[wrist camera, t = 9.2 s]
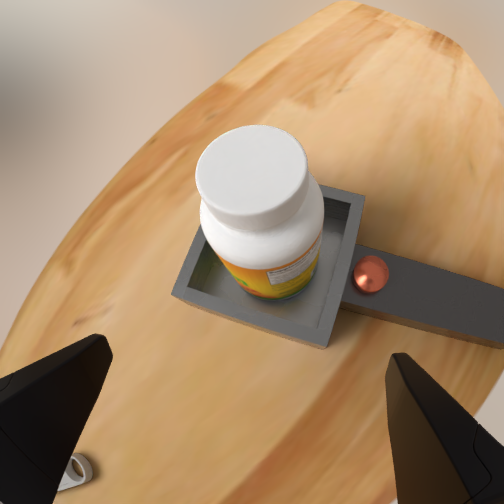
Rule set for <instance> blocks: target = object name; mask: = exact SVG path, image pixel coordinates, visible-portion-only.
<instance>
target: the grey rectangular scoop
mask: <svg viewBox="0 0 504 504" xmlns="http://www.w3.org/2000/svg"><path fill="white" fill-rule="evenodd" d="M318 185H319V184H318ZM319 187H320V190H321V192H322V196H323V200H324V221H323V229H322V237H321V245H320V252H319V260H318V265H317V269H316V272H315V274H314V277H313V278H312V280H311V282H310V283H309V284H308V285H307V287H306V288H305V289H304V290H302V291H301V292H300V293H298V294H297V295H295V296H293V297H290V298H288V299H284V300H279V301H267V300H262V299H259V298H256V297H254V296H252V295H250V294H249V293H247V292H246V291H245V290H244V289H243V288H242V287H241V286H240V285H239V284H238V283H237V281H236V280H235V279H234V277H233V276H232V275H231V273H230V272H229V271H228V269H227V268H226V267H225V265H224V264H223V262H222V261H221V259H220V258H219V257H218V255H217V254H216V253H215V251H214V250H213V248H212V247H211V246H210V244H209V242H208V241H207V239H206V237H205V235H204V232H203V230H202V226H201V224H200V226H199V229H198V231H197V233H196V235H195V238H194V240H193V242H192V245H191V247H190V249H189V252H188V254H187V256H186V259H185V261H184V264H183V266H182V268H181V271H180V273H179V276H178V278H177V280H176V283H175V285H174V288H173V290H172V293H171V295H172V296H174V297H176V298H178V299H179V300H181V301H183V302H185V303H186V304H188V305H190V306H193V307H196V308H198V309H201V310H204V311H206V312H209V313H212V314H215V315H217V316H220V317H223V318H226V319H229V320H232V321H234V322H237V323H240V324H243V325H246V326H249V327H252V328H255V329H258V330H261V331H264V332H267V333H270V334H273V335H276V336H279V337H283V338H286V339H289V340H292V341H295V342H299V343H302V344H305V345H309V346H312V347H315V348H319V349H322V350H323V349H325V348H326V347H327V344H328V341H329V338H330V335H331V332H332V328H333V325H334V322H335V318H336V315H337V312H338V308H342V309H345V310H349V311H352V312H356V313H360V314H363V315H367V316H371V317H374V318H378V319H382V320H385V321H389V322H393V323H396V324H400V325H404V326H408V327H412V328H415V329H419V330H423V331H427V332H431V333H435V334H439V335H443V336H447V337H451V338H455V339H459V340H463V341H467V342H471V343H475V344H480V345H484V346H488V347H492V348H497V349H504V289H503V288H500V287H497V286H494V285H491V284H487V283H484V282H481V281H478V280H475V279H472V278H469V277H466V276H463V275H459V274H456V273H453V272H450V271H447V270H443V269H440V268H437V267H434V266H430V265H427V264H424V263H420V262H417V261H414V260H410V259H407V258H403V257H400V256H396V255H393V254H390V253H386V252H383V251H379V250H376V249H372V248H368V247H365V246H361V245H358V244H355V243H356V238H357V234H358V229H359V225H360V220H361V215H362V211H363V206H364V201H365V196H363V195H359V194H355V193H351V192H347V191H343V190H339V189H335V188H331V187H327V186H323V185H319Z"/></svg>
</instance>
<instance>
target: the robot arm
mask: <svg viewBox="0 0 504 504" xmlns="http://www.w3.org/2000/svg"><path fill="white" fill-rule="evenodd" d="M112 359H113V354H112V351H111V348H110V346H109V343H108V341H107V339H106V337H105V336H104V335H101V334H92V335H90V336H88V337H86V338H84V339H82V340H79V341H77V342H75V343H73V344H71V345H69V346H67V347H65V348H63V349H61V350H59V351H57V352H55V353H53V354H51V355H49V356H47V357H44V358H42V359H40V360H38V361H36V362H34V363H32V364H30V365H28V366H26V367H24V368H22V369H20V370H18V371H16V372H15V373H11V374H9V375H7V376H5V377H3V378H1V379H0V504H53V501H54V498H55V496H56V493H57V491H58V488H59V485H60V482H61V480H62V477H63V475H64V473H65V470H66V468H67V465H68V463H69V460H70V458H71V456H72V453H73V451H74V449H75V447H76V444H77V442H78V440H79V437H80V435H81V433H82V431H83V429H84V426H85V424H86V422H87V420H88V418H89V416H90V413H91V411H92V409H93V407H94V405H95V403H96V401H97V399H98V396H99V394H100V392H101V389H102V386H103V383H104V381H105V378H106V375H107V373H108V370H109V367H110V365H111V362H112ZM385 384H386V398H387V417H388V429H389V436H390V442H391V449H392V456H393V463H394V471H395V480H396V489H397V500H398V504H504V446H502V445H501V444H500V443H499V442H498V441H497V440H496V439H495V438H494V437H493V436H492V435H491V434H489V433H488V432H487V431H486V430H485V429H484V428H483V427H482V426H481V425H480V424H478V422H477V421H476V420H475V419H474V418H473V417H472V416H471V415H470V414H469V413H468V412H467V411H466V410H465V409H464V408H463V407H462V406H461V405H460V404H459V403H458V402H457V401H456V400H455V399H454V398H453V397H452V396H451V395H450V394H449V393H448V392H447V391H446V390H445V389H444V388H442V387H441V386H440V385H439V384H438V383H437V382H436V381H435V380H434V379H433V378H432V377H431V376H430V375H429V374H428V373H427V372H426V371H425V370H424V369H423V368H422V367H420V366H419V365H418V364H417V363H416V362H415V361H414V360H413V359H412V358H411V357H410V356H409V355H408V354H406V353H394V354H392V355H391V357H390V361H389V364H388V368H387V371H386V376H385Z"/></svg>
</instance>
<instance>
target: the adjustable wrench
mask: <svg viewBox="0 0 504 504" xmlns="http://www.w3.org/2000/svg"><path fill="white" fill-rule="evenodd" d="M73 459H75V460H76V461H77V462H78V463H79V465H80V466H81V468H82V470H83V474H84V476H83V477H81V476H79V475H78V474H77V473H76V472H75V470H74V468H73V465H72V461H73ZM92 477H93V471H92V467H91V465H90V463H89V462H88V460H87V459H86V458H85V457H84V456H82V455H81V454H78V453H74V454H72V456H71V458H70V460H69V463H68V465H67V468H66V470H65V473H64V475H63V477H62V480H61V482H60V485H59V488H58V491H60V490H64V489H67V488H70V487H73V486H76V485H79V484H82V483H85V482H88V481H90V480H91V479H92Z"/></svg>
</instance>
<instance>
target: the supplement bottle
mask: <svg viewBox="0 0 504 504" xmlns="http://www.w3.org/2000/svg"><path fill="white" fill-rule="evenodd" d="M195 176H196V184H197V188H198V191H199V193H200V195H201V197H202V200H201V206H200V221H201V226H202V230H203V232H204V235H205V237H206V239H207V241H208V242H209V244H210V246H211V247H212V248H213V250H214V251H215V253H216V254H217V255H218V257H219V258H220V259H221V261H222V262H223V264H224V265H225V267H226V268H227V269H228V271H229V272H230V273H231V275H232V276H233V277H234V279H235V280H236V281H237V283H238V284H239V285H240V286H241V287H242V288H243V289H244V290H245V291H246V292H247V293H249V294H250V295H252V296H254V297H256V298H259V299H262V300H267V301H279V300H284V299H288V298H290V297H293V296H295V295H297V294H298V293H300V292H301V291H302V290H304V289H305V288H306V287H307V285H308V284H309V283H310V282H311V280H312V278H313V277H314V274H315V272H316V269H317V265H318V260H319V252H320V245H321V237H322V229H323V221H324V200H323V196H322V192H321V190H320V187H319V185H318V183H317V181H316V180H315V178H314V177H313V176H312V174H311V173H310V172H309V171H308V160H307V156H306V153H305V151H304V149H303V147H302V146H301V144H300V143H299V142H298V141H297V139H296V138H294V137H293V136H292V135H291V134H289V133H288V132H286V131H284V130H281V129H279V128H276V127H272V126H267V125H249V126H243V127H239V128H236V129H233V130H230V131H228V132H226V133H224V134H222V135H221V136H219V137H218V138H216V139H215V140H214V141H213V142H211V143H210V144H209V145H208V147H207V148H206V149H205V150H204V152H203V153H202V155H201V157H200V159H199V161H198V164H197V167H196V175H195Z"/></svg>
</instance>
